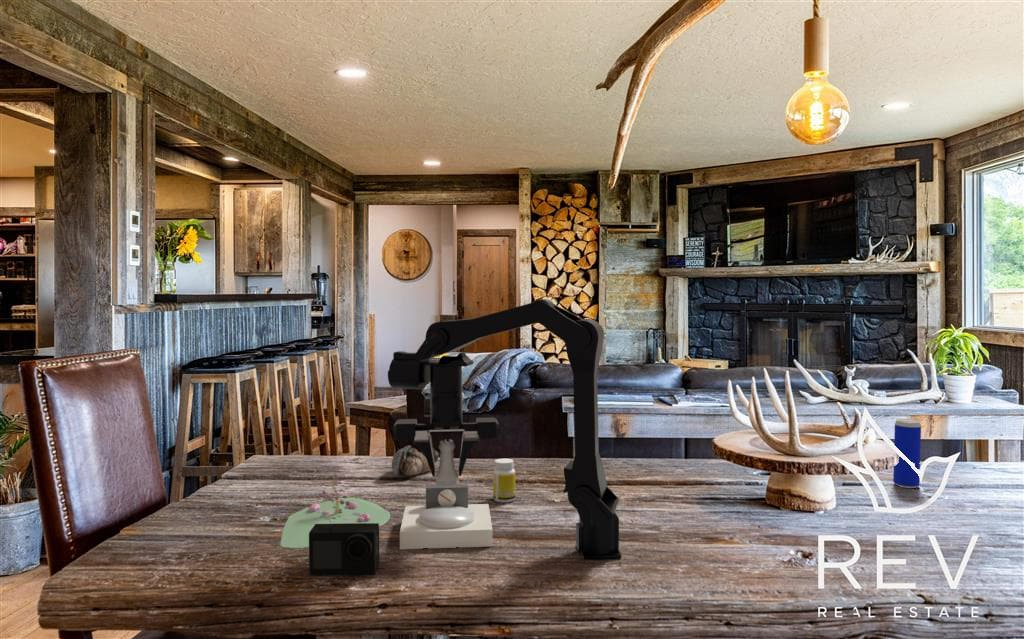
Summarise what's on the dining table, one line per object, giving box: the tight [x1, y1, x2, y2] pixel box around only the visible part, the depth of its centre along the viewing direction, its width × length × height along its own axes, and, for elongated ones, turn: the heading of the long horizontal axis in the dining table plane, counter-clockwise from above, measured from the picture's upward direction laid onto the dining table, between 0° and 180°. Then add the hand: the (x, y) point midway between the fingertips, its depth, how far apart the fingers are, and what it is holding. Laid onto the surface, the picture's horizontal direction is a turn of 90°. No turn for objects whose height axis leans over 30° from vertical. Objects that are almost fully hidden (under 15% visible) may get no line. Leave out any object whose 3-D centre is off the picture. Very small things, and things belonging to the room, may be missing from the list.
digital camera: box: [308, 523, 380, 576], centre depth 108 cm, size 10×5×7 cm, turn 92°
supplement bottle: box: [492, 458, 516, 503], centre depth 144 cm, size 5×5×8 cm
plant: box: [280, 474, 391, 549], centre depth 129 cm, size 25×21×9 cm
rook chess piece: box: [434, 439, 460, 488], centre depth 123 cm, size 4×4×8 cm
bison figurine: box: [391, 444, 440, 477], centre depth 164 cm, size 12×7×10 cm
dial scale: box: [399, 483, 493, 550], centre depth 124 cm, size 16×14×7 cm
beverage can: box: [892, 418, 922, 489], centre depth 154 cm, size 5×5×15 cm
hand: (446, 475), depth 123 cm, fingers closed on rook chess piece, 4 cm apart
